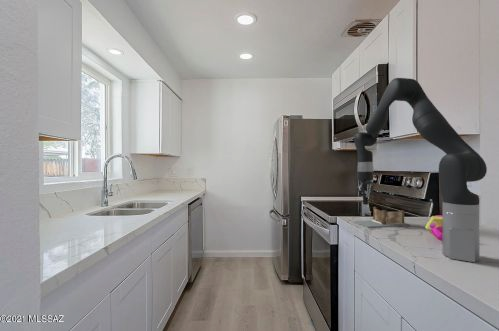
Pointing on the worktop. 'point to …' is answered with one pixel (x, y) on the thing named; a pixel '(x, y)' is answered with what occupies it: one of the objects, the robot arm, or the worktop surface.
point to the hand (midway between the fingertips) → (365, 204)
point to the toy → (436, 226)
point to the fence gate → (377, 214)
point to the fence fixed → (393, 217)
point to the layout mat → (378, 224)
